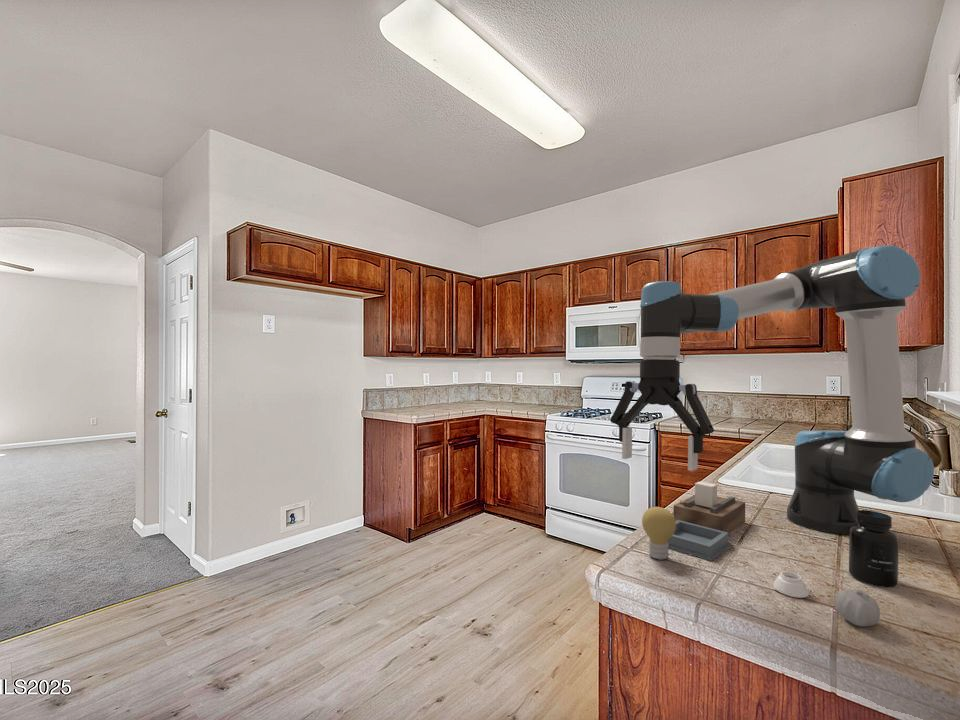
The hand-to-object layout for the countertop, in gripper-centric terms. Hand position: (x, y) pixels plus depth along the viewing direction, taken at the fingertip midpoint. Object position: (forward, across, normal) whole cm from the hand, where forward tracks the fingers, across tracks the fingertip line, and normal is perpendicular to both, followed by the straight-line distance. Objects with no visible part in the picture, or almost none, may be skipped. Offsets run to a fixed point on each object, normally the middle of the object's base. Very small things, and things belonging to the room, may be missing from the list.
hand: (658, 463), depth 91 cm
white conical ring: (+19, -22, -4) cm, 29 cm away
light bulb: (+19, 0, 0) cm, 19 cm away
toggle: (+13, 0, -26) cm, 29 cm away
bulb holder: (+19, -2, -12) cm, 23 cm away
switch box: (+19, 0, -28) cm, 34 cm away
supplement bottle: (+19, -31, -20) cm, 42 cm away
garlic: (+19, -31, 0) cm, 37 cm away
